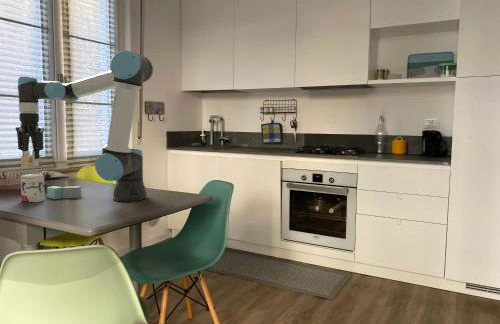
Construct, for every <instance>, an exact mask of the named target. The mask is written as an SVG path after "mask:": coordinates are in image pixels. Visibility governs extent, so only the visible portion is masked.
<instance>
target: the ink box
mask: <svg viewBox="0 0 500 324" xmlns="http://www.w3.org/2000/svg"><path fill="white" fill-rule="evenodd" d="M20 190H21V191H20V192H21V202H27V203H39V202H40V203H41V202H44V201H45V200H46V199H45V196H46V195H45V175H44V174H36V173H28V174H24V175H23V174H22V175H20Z"/></svg>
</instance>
